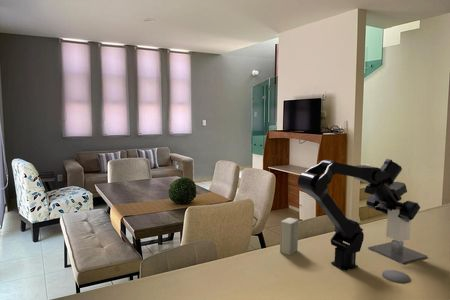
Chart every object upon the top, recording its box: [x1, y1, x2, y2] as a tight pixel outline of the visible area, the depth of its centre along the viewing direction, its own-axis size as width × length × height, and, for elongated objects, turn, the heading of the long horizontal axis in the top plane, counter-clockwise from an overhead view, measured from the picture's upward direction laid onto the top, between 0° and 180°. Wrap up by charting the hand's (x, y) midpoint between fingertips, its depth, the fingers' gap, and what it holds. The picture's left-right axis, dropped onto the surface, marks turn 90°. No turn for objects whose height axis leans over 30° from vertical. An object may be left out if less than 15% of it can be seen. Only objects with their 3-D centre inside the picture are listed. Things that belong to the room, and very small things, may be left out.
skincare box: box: [279, 217, 300, 256], centre depth 130 cm, size 6×4×12 cm
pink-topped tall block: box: [385, 208, 412, 242], centre depth 129 cm, size 6×6×12 cm
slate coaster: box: [381, 269, 411, 284], centre depth 111 cm, size 8×8×1 cm
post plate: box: [367, 239, 428, 265], centre depth 130 cm, size 13×15×5 cm
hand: (401, 219), depth 129 cm, fingers closed on pink-topped tall block, 6 cm apart
